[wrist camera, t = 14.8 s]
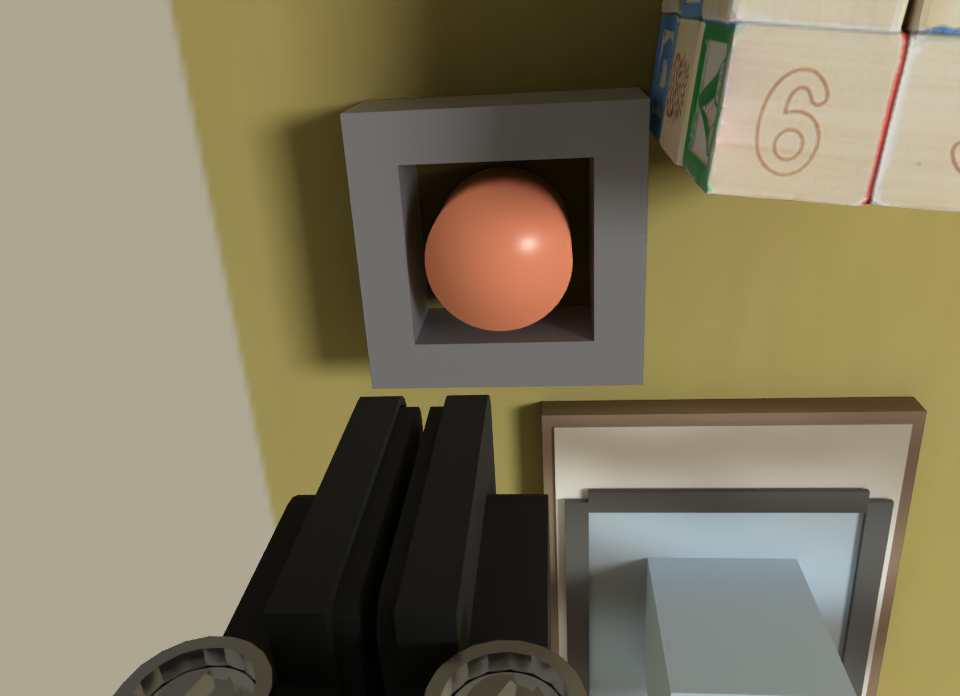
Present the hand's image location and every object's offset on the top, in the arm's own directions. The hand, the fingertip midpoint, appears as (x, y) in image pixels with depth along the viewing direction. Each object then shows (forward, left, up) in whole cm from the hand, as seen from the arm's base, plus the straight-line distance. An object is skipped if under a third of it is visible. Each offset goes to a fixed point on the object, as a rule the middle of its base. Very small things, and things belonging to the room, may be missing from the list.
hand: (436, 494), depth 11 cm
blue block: (+16, -4, -14) cm, 22 cm away
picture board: (+16, -4, -16) cm, 23 cm away
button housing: (0, 0, -16) cm, 16 cm away
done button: (0, 0, -15) cm, 15 cm away
